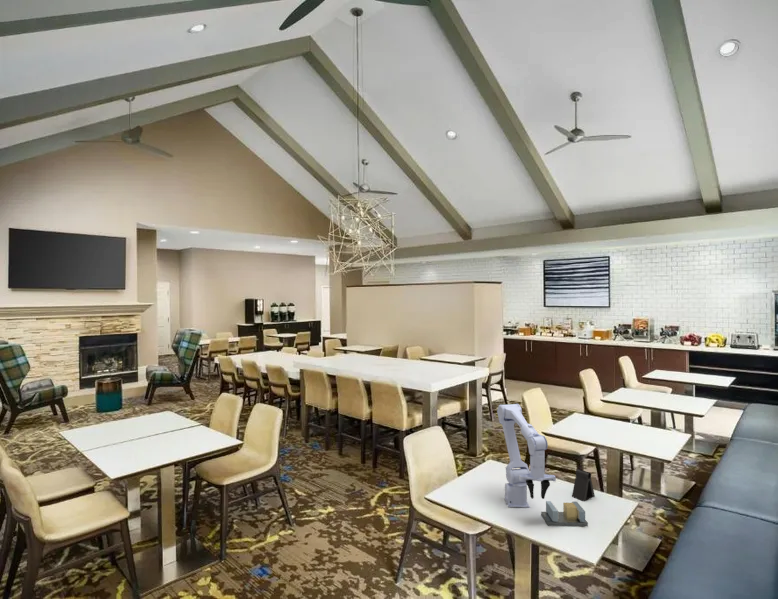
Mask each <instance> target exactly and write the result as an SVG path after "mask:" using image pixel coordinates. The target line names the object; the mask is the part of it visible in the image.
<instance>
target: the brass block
mask: <svg viewBox="0 0 778 599" xmlns="http://www.w3.org/2000/svg"><path fill="white" fill-rule="evenodd" d="M562 508H563V509H562V510H563V511H562V512H563V515H564V516H565V517H566V519H567V520H577V507H576V506H575V505H574V503H572V502H563V507H562Z"/></svg>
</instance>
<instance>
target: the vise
mask: <svg viewBox="0 0 778 599" xmlns="http://www.w3.org/2000/svg"><path fill="white" fill-rule="evenodd" d="M571 503H574V505H575V506H576V507H577V520H567V519H566V517H565V516H564V515H563V511H559V514H558V522H556V521H552V519H551V518H550V516H549V515H548V513H547V512H546V511H541V512H540V516H541V517H542V519H543V521H544V522H545V523H546V525H547V527H588V525H589V523H588V521H587V519H586V511H585V510H584V508H583V507H582V506H581V505H580V504H579V502H578V501H572V502H571Z"/></svg>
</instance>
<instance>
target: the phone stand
mask: <svg viewBox="0 0 778 599" xmlns="http://www.w3.org/2000/svg"><path fill="white" fill-rule="evenodd" d="M573 484H574V485H573V490H572V492H571V493H572V494H571V496H572V498H575V499H577V500H580V501H582V502H587V501H589V500H590V499H593V498H594V497H595V496H596V495H595V490H594V487H593V482H592V473H591V472H589V471H586V470H582V469H580V468H577V469H576V470H575V479H574V483H573Z"/></svg>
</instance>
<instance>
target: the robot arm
mask: <svg viewBox="0 0 778 599" xmlns="http://www.w3.org/2000/svg"><path fill="white" fill-rule="evenodd" d="M496 413H497V414H496V415H497V417H498V422H499V424H501V425H502V430H503V434H504V440H505V444H506V448H507V449H506V450H507V453H508V458H509V462H508V464H507V465H506V467H505V477H506V481H507V483H505V484H504V502H505V504H506V505H507V507H508V508H530V507H531V506H530V504H529V503H528V491H529V497H530V498H531V499H534V489H535V484H534V482H535V481H537V482H540V488H541V489H540V497H541V499H542V500H544V499H545V498H546V497H545V496H546V494H547V490H549V488H550V485H551V483H550V482H556V481H557V480H556V479H557V478H556V475H554V474H546V472H545V469H546V468H545V465H546V464H545V460H546V458H545V457H546V455H545V453H546V452H545V451H546V450H548V446H549V445H548V444H549V442H548V440H547V438H546V436H545V435H544V434H543V435H542V434H540V433H539V432H538V431H537V430H536V428H535V427H534V425H532V423H528V422H527V420H526V419H525V416H524V415H523V409H522V407H521V405H520V404H519V403H513V404H498V406H497V409H496ZM515 424H517V425H518V426H519V428H520V433H521V434H522V436H523V437H524V439H525V440H526V442H527V443H526V444H527V447H528V453H529V455H530V456H529V458H530V459H529V463H530V464H529V466H530V467H528V464H527V463H526V462H525V461H523V460H522V457H521V453H520V449H519V444H518V439H517V435H516V430H515V426H514V425H515ZM529 468H530V469H529Z"/></svg>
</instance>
